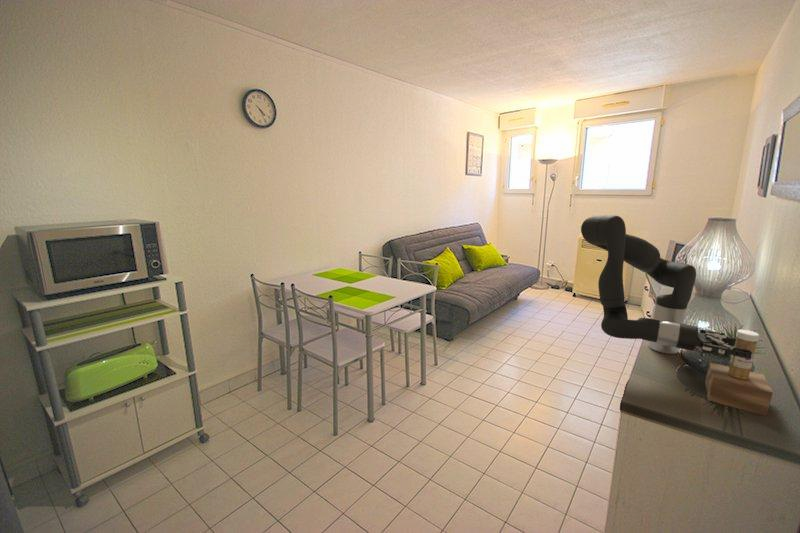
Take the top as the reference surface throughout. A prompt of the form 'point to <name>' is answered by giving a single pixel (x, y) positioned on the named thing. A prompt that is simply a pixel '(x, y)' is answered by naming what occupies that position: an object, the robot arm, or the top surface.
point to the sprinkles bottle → (739, 364)
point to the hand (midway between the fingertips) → (748, 349)
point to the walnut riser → (738, 390)
